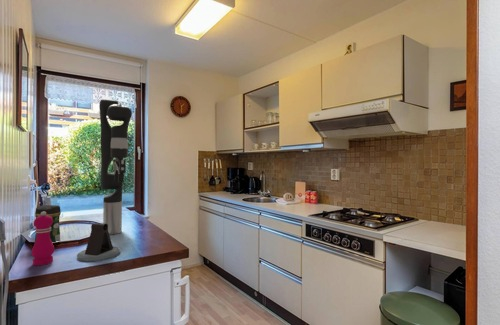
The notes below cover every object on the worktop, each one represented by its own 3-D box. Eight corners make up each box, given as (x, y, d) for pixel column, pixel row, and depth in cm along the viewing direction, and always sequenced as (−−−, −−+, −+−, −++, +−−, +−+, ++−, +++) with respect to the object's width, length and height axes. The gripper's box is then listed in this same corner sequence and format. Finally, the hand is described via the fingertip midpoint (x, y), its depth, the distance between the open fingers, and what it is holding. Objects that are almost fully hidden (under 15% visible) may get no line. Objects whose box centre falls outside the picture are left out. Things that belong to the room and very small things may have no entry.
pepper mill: (39, 259, 110) (40, 209, 110) (58, 259, 110) (58, 209, 110) (26, 266, 102) (26, 213, 102) (46, 265, 103) (47, 213, 103)
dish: (75, 253, 117) (75, 250, 117) (115, 246, 127) (115, 243, 127) (79, 264, 104) (79, 261, 104) (124, 256, 114) (124, 253, 114)
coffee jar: (30, 246, 126) (31, 206, 126) (44, 241, 134) (45, 203, 134) (51, 246, 126) (51, 206, 125) (63, 241, 133) (64, 204, 133)
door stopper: (96, 255, 111) (96, 226, 111) (84, 254, 112) (85, 225, 112) (113, 249, 119) (113, 221, 119) (102, 247, 121) (102, 220, 121)
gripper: (107, 148, 134) (107, 180, 134) (114, 146, 123) (113, 182, 123) (124, 148, 139) (123, 180, 139) (131, 147, 128) (131, 182, 128)
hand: (119, 181), depth 131 cm, fingers open, 8 cm apart
